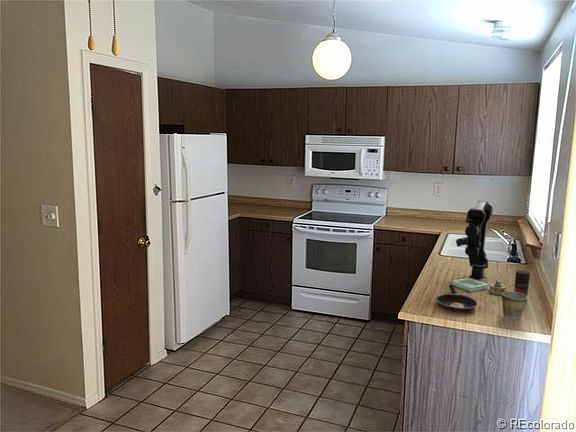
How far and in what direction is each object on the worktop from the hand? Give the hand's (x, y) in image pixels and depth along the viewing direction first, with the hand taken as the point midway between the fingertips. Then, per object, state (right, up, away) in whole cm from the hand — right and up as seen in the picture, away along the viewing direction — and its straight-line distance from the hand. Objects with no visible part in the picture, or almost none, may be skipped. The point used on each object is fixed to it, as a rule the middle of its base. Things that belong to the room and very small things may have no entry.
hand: (471, 263), depth 242 cm
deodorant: (+17, -17, -16) cm, 29 cm away
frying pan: (-15, -17, -16) cm, 28 cm away
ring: (+12, -14, -3) cm, 19 cm away
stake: (+12, -15, -3) cm, 19 cm away
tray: (+1, -13, +5) cm, 14 cm away
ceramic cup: (+6, -20, -33) cm, 39 cm away
